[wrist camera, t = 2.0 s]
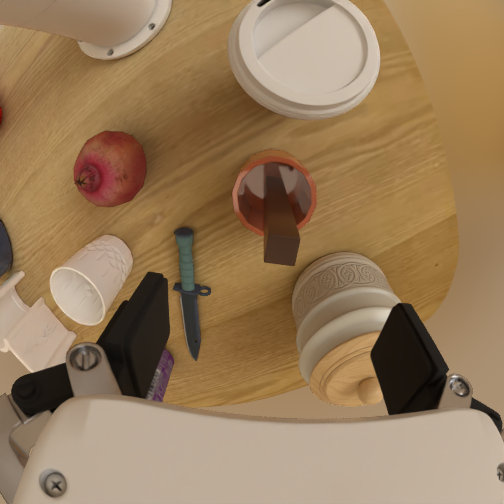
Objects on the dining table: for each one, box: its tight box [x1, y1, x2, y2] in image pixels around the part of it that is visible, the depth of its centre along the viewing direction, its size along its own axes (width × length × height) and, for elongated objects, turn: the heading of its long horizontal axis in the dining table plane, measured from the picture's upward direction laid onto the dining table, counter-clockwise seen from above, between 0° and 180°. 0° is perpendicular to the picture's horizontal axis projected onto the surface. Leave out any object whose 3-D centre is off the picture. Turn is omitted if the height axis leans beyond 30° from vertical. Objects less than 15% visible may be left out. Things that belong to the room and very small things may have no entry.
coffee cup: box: [227, 0, 380, 120], centre depth 18 cm, size 10×10×15 cm
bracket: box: [0, 270, 77, 373], centre depth 38 cm, size 25×10×12 cm, turn 30°
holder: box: [232, 149, 317, 236], centre depth 28 cm, size 8×8×6 cm
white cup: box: [50, 234, 133, 326], centre depth 31 cm, size 8×8×10 cm
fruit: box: [74, 131, 146, 207], centre depth 25 cm, size 8×8×10 cm
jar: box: [292, 252, 402, 406], centre depth 29 cm, size 13×13×18 cm
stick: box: [263, 176, 300, 266], centre depth 23 cm, size 2×2×16 cm
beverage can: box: [146, 349, 174, 402], centre depth 38 cm, size 7×7×12 cm
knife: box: [173, 228, 211, 361], centre depth 38 cm, size 23×2×5 cm
